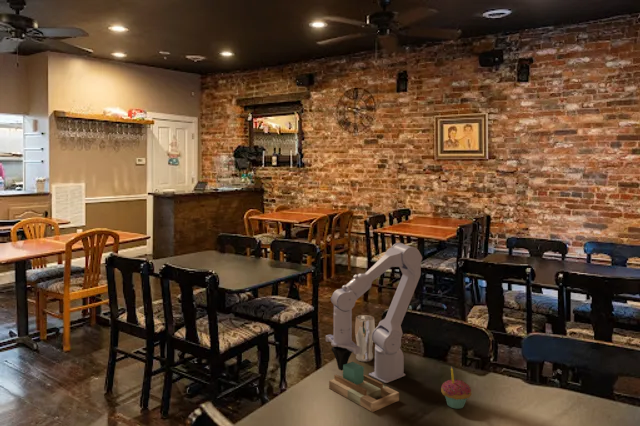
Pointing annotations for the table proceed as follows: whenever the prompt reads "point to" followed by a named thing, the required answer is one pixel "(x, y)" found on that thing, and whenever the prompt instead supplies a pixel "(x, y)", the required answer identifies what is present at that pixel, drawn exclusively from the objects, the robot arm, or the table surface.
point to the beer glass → (364, 337)
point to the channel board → (365, 392)
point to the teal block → (353, 372)
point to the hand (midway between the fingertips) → (342, 369)
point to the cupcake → (455, 392)
